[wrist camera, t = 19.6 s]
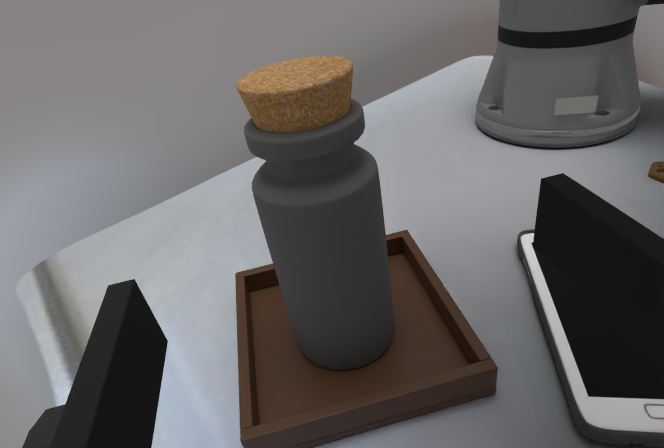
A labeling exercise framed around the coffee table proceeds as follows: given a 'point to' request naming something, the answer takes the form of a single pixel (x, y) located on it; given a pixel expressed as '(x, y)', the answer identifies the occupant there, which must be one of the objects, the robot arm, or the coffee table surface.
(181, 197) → the coffee table surface
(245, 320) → the tray
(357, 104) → the bottle
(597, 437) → the cell phone
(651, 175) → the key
